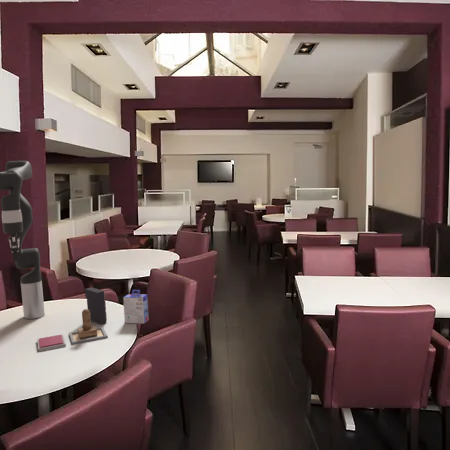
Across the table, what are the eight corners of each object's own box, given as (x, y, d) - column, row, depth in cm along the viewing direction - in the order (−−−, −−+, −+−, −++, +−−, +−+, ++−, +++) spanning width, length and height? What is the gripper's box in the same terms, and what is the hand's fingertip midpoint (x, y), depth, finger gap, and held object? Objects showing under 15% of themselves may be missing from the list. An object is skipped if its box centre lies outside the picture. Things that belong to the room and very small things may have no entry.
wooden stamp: (78, 335, 182) (76, 309, 181) (95, 332, 185) (93, 306, 184) (79, 339, 178) (77, 312, 176) (97, 336, 181) (95, 309, 179)
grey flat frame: (69, 334, 184) (68, 332, 184) (102, 328, 190) (102, 326, 190) (72, 344, 173) (72, 342, 173) (107, 337, 179) (107, 335, 179)
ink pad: (37, 341, 177) (37, 338, 177) (63, 337, 182) (62, 333, 181) (38, 351, 167) (38, 347, 167) (65, 346, 172) (65, 342, 171)
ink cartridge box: (149, 319, 199) (147, 289, 197) (144, 324, 194) (143, 292, 192) (129, 319, 201) (127, 288, 199) (124, 323, 196) (122, 292, 194)
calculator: (108, 322, 197) (105, 290, 195) (99, 325, 194) (97, 292, 192) (95, 317, 205) (93, 286, 203) (87, 320, 202) (84, 288, 200)
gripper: (22, 221, 174) (26, 261, 177) (22, 218, 187) (25, 255, 189) (1, 223, 171) (5, 263, 173) (2, 220, 184) (6, 257, 186)
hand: (16, 259), depth 181 cm, fingers open, 8 cm apart
